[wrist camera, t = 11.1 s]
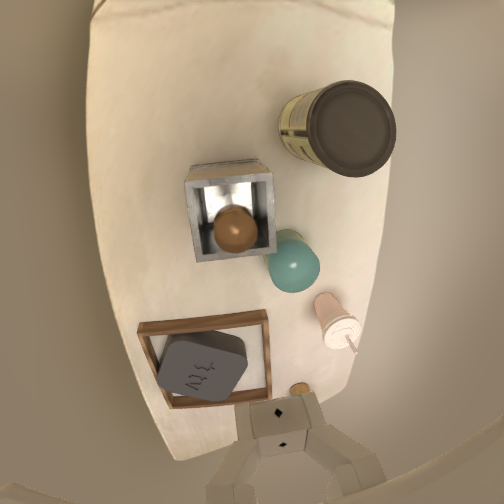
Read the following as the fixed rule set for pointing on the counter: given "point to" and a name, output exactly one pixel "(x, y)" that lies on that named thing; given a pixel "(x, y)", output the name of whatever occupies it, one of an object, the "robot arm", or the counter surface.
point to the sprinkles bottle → (299, 389)
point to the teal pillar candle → (292, 263)
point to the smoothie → (336, 323)
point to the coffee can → (340, 128)
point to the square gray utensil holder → (260, 205)
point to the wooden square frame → (208, 325)
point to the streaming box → (202, 364)
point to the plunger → (231, 216)
